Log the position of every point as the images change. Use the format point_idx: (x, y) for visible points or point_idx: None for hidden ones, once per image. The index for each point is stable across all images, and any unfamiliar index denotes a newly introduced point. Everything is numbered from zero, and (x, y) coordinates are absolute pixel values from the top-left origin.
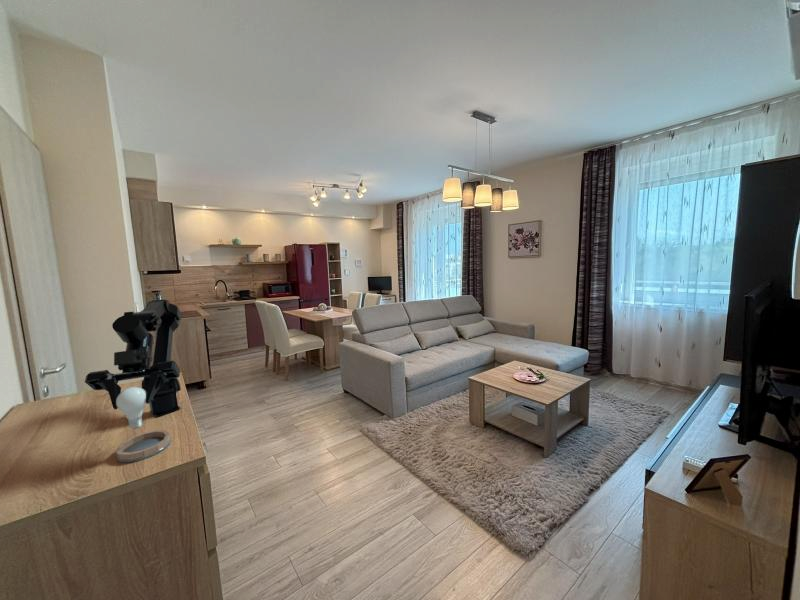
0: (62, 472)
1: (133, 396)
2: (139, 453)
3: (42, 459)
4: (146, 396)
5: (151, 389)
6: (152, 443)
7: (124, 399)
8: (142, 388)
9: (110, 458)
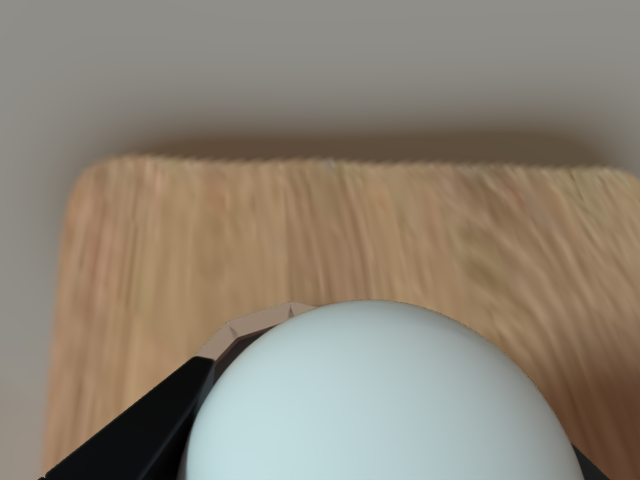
0: (616, 436)
1: (345, 317)
2: (307, 305)
3: None
4: (190, 406)
5: (73, 471)
6: None
7: (454, 323)
8: None
9: None
